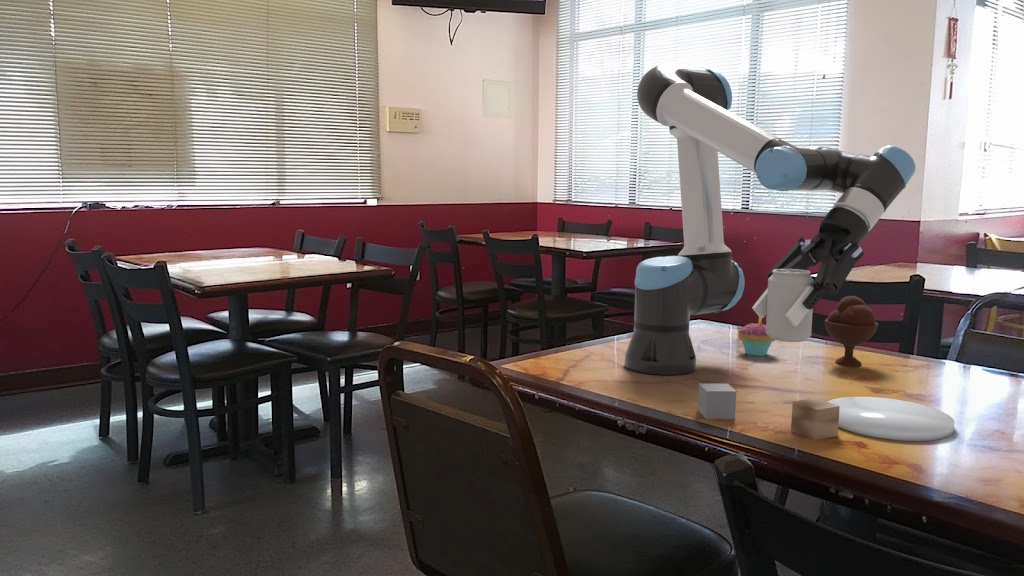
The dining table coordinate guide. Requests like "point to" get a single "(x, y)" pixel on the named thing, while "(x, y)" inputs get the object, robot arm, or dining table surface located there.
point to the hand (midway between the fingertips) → (773, 316)
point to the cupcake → (755, 338)
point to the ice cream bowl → (851, 327)
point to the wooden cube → (815, 418)
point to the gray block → (717, 401)
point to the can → (787, 305)
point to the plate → (893, 419)
